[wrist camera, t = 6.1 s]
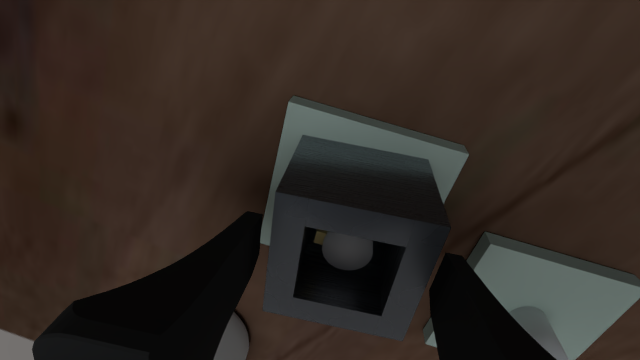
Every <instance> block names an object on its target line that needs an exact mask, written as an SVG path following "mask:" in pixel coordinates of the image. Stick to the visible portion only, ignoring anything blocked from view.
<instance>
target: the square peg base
mask: <svg viewBox="0 0 640 360" xmlns="http://www.w3.org/2000/svg"><path fill="white" fill-rule="evenodd" d="M302 135H307V136H312V137H317V138H322V139H327V140H332V141H337V142H343V143H348V144H353V145H358V146H363V147H368V148H373V149H378V150H383V151H388V152H393V153H399V154H404V155H409V156H414V157H419V158H424V159H428V160H429V163H430V166H431V169H432V172H433V175H434V178H435V181H436V184H437V187H438V190H439V193H440V196H441V199H442V202H443V203H444V202H445V200H446V198H447V196H448V194H449V192H450V190H451V188H452V186H453V184H454V183H455V181H456V179H457V177H458V175H459V173H460V171H461V169H462V167H463V165H464V164H465V162H466V160H467V158H468V156H469V153H468V152H467V150H466V148H465V146H464V145H461V144H457V143H454V142H451V141H447V140H444V139H440V138H437V137H434V136H430V135H427V134H423V133H420V132H416V131H413V130H410V129H406V128H403V127H399V126H396V125H393V124H389V123H386V122H382V121H379V120H375V119H372V118H369V117H365V116H362V115H358V114H355V113H351V112H348V111H345V110H341V109H338V108H334V107H331V106H328V105H324V104H321V103H317V102H314V101H310V100H307V99H304V98H300V97H297V96H293V97H292V98H291V99H290V101H289V102H288V107H287V112H286V116H285V121H284V126H283V130H282V135H281V140H280V144H279V149H278V154H277V158H276V163H275V168H274V172H273V177H272V182H271V186H270V191H269V196H268V200H267V205H266V210H265V214H264V219H263V224H262V228H261V238H260V243H262V244H265V245H269V246H270V237H271V228H272V219H273V209H274V200H275V192H276V189H277V187H278V185H279V183H280V181H281V179H282V177H283V175H284V173H285V171H286V169H287V166H288V164H289V162H290V160H291V158H292V156H293V154H294V152H295V150H296V148H297V146H298V144H299V141H300V139H301V137H302ZM314 243H317V244H321V245H322V253H323V256H324V258H325V259H326V261H327V262H328V263H329V264H331V265H332V266H334V267H336V268H338V269H342V270H356V269H360V268H362V267H364V266H365V265H367V264H368V263H369V261H370V260H371V258H372V255H373V240H369V239H364V238H359V237H354V236H349V235H344V234H340V233H335V232H330V231H325V230H320V229H317V230H316V234H315V238H314Z"/></svg>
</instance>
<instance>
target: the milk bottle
mask: <svg viewBox="0 0 640 360" xmlns="http://www.w3.org/2000/svg"><path fill="white" fill-rule="evenodd" d="M248 350H249V338H248V332H247V330H246V327H245V325H244V324H243V322H242V320H241V319H240V318H239V317H238V316H237V315H236V314H235V312H233V314H232V316H231V318H230V320H229V322H228V324H227V327H226V329H225V331H224V333H223V336H222V338H221V341H220V343H219V346H218V349H217V351H216V354H215V357H214V359H213V360H246V357H247V353H248Z"/></svg>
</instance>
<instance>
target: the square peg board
mask: <svg viewBox="0 0 640 360" xmlns="http://www.w3.org/2000/svg"><path fill="white" fill-rule="evenodd" d="M467 263H468V264H469V265H470V266H471V268H472V269H473V270H474V271H475V273H476V274H477V275H478V276H479V278H480V279H481V280H482V282H483V283H484V284H485V285H486V287H487V288H488V289H489V290H490V291H491V293H492V294H493V295H494V296H495V297H496V299H497V300H498V301H499V302H500V303H501V304H502V306H503V307H504V308H505V309H506V310H507V311H508V312H509V313H510V315H511V316H512V317H513V318H514V319H515V320H516V321H517V322H518V323H519V324H520V325H521V326H522V327H523V328H524V329H525V331H526V332H528V333H529V334H530V335H531V336H532V337H533V338H534V339H535V340H536V341H537V342H538V343H539V344H540V345H541V346H542V347H543V348H544V349H545V350H546V351H548V352H549V353H550V354H551V355H552V356H553V357H554V358H555V359H557V360H575V359H576V358H577V357H578V356H579V355H581V354H582V353H583V352H584V351H585V350H586V349H587V348H588V347H589V346H590V345H591V344H592V343H593V342H594V341H595V340H596V339H597V338H598V337H599V336H600V335H601V334H603V333H604V332H605V331H606V330H607V329H608V328H609V327H610V326H611V325H612V324H613V323H614V322H615V321H616V320H617V319H618V318H619V317H620V316H621V315H622V314H623V313H625V312H626V311H627V310H628V309H629V308H630V307H631V306H632V305H633V304H634V303H635V302H636V301H637V300H638V299H639V298H640V280H639V279H638V278H637V277H636V276H635V275H633V274H630V273H626V272H623V271H619V270H616V269H612V268H609V267H605V266H602V265H599V264H595V263H592V262H588V261H585V260H581V259H578V258H575V257H571V256H568V255H564V254H561V253H557V252H554V251H550V250H547V249H544V248H540V247H537V246H533V245H530V244H526V243H523V242H519V241H516V240H513V239H509V238H506V237H502V236H499V235H495V234H492V233H488V232H484V234H483V235H482V237H481V238H480V240H479V242H478V243H477V245H476V246H475V248H474V250H473V251H472V253H471V254H470V256H469V257H468V259H467ZM423 333H424V339H425V344H428V345H431V346H435V347H437V345H436V340H435V335H434V330H433V324H432V319H431V318H430V319H429V321H428V322H427V324H426V326H425V327H424V329H423Z"/></svg>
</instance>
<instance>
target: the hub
mask: <svg viewBox="0 0 640 360" xmlns="http://www.w3.org/2000/svg"><path fill="white" fill-rule="evenodd" d="M317 229H320V230H325V231H330V232H335V233H340V234H344V235H349V236H354V237H359V238H364V239H369V240H373V255H372V258H371V260H370V261H369V263H368V264H367V265H365V266H364V267H362V268H360V269H356V270H342V269H338V268H336V267H334V266H332V265H331V264H329V263H328V262H327V261H326V259H325V258H324V256H323V253H322V245H321V244H317V243H314V238H315V234H316V230H317ZM450 229H451V226H450V223H449V220H448V217H447V214H446V211H445V208H444V205H443V202H442V199H441V196H440V193H439V190H438V187H437V184H436V181H435V178H434V175H433V172H432V169H431V166H430V163H429V160H428V159H424V158H419V157H414V156H409V155H404V154H399V153H393V152H388V151H383V150H378V149H373V148H368V147H363V146H358V145H353V144H348V143H343V142H337V141H332V140H327V139H322V138H317V137H312V136H307V135H302V137H301V139H300V141H299V144H298V146H297V148H296V150H295V152H294V154H293V156H292V158H291V160H290V162H289V164H288V166H287V169H286V171H285V173H284V175H283V177H282V179H281V181H280V183H279V185H278V187H277V189H276V192H275V200H274V209H273V219H272V228H271V237H270V247H269V256H268V265H267V275H266V284H265V293H264V303H263V311H266V312H271V313H275V314H280V315H285V316H289V317H294V318H298V319H303V320H308V321H312V322H317V323H321V324H326V325H331V326H335V327H340V328H344V329H349V330H354V331H358V332H363V333H367V334H372V335H377V336H381V337H386V338H390V339H395V340H400V341H403V339H404V336H405V334H406V332H407V329H408V327H409V325H410V322H411V320H412V318H413V315H414V313H415V311H416V308H417V306H418V304H419V301H420V299H421V297H422V294H423V292H424V290H425V287H426V285H427V283H428V280H429V278H430V276H431V273H432V271H433V269H434V266H435V264H436V262H437V259H438V257H439V255H440V252H441V250H442V248H443V245H444V243H445V241H446V238H447V236H448V234H449V231H450Z"/></svg>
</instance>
